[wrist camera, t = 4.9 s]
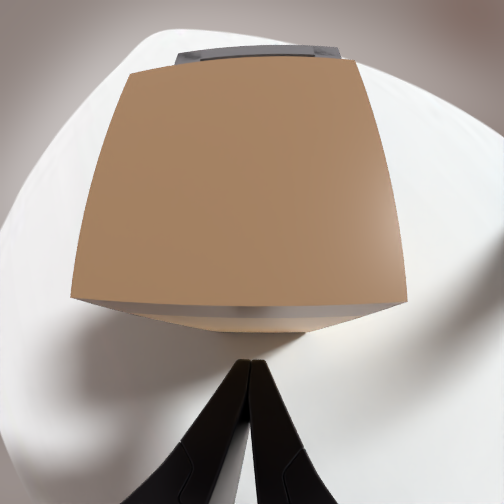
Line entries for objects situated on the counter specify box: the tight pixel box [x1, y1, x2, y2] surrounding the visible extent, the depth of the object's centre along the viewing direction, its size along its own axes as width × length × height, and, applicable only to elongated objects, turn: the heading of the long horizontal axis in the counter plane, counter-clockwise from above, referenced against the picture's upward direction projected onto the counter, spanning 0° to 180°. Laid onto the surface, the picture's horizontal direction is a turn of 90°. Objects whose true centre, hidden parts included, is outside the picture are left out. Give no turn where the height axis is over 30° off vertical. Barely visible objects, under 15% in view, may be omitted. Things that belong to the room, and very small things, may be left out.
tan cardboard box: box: [70, 56, 408, 333], centre depth 10 cm, size 5×5×12 cm
